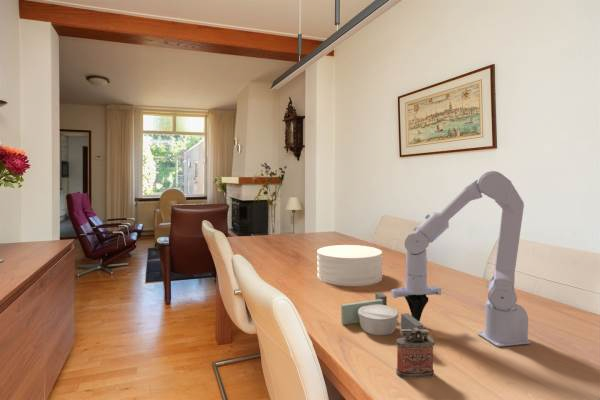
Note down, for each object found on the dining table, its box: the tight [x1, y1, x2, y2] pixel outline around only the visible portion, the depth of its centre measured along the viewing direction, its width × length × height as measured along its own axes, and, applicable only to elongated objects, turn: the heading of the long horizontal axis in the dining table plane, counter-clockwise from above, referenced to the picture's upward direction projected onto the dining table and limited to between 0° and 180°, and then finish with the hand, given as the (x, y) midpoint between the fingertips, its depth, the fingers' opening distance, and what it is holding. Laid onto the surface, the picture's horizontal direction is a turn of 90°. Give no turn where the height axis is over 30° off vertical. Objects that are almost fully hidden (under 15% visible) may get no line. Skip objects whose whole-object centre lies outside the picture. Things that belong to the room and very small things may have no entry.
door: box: [340, 299, 383, 325], centre depth 106 cm, size 2×13×6 cm, turn 109°
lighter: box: [395, 327, 435, 379], centre depth 77 cm, size 8×3×10 cm, turn 92°
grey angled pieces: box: [374, 292, 425, 338], centre depth 100 cm, size 2×26×6 cm, turn 10°
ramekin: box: [358, 304, 399, 337], centre depth 101 cm, size 11×11×5 cm
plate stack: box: [316, 244, 383, 287], centre depth 155 cm, size 28×28×12 cm
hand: (415, 320), depth 103 cm, fingers closed
